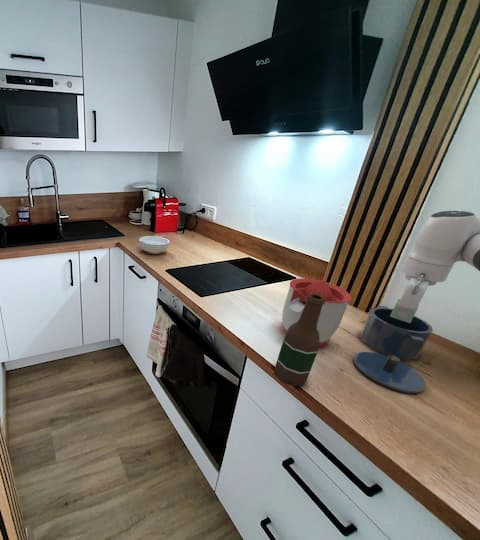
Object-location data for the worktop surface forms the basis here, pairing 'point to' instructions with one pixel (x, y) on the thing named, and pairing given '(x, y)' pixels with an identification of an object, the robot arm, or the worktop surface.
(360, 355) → the pot lid
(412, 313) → the block
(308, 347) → the beer bottle
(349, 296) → the citrus juicer
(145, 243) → the cereal bowl
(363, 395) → the worktop surface
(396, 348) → the pot
